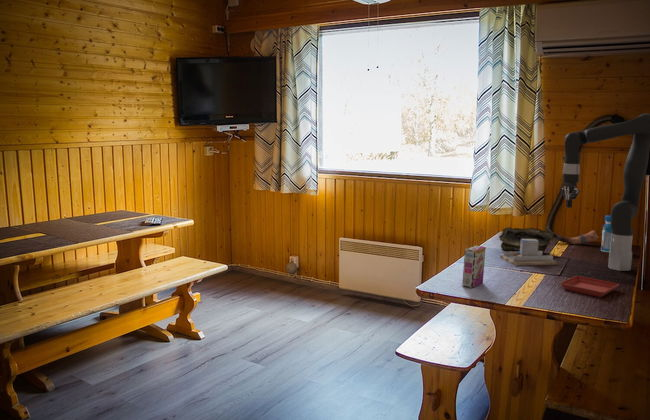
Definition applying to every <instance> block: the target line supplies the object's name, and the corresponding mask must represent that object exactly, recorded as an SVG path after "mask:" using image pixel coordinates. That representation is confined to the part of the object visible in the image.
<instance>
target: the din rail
mask: <svg viewBox="0 0 650 420" xmlns="http://www.w3.org/2000/svg"><path fill="white" fill-rule="evenodd" d="M542 252H543V251H538V256H516V255H520V250H517V251H516V250H515V251H512V250H510V251H503V255H504V257H506V258H508V259H510V260H512V261H552V260H553V258H554V256H553V255H548V254H547V255H545V254H543V253H544V252H543V253H542Z"/></svg>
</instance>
